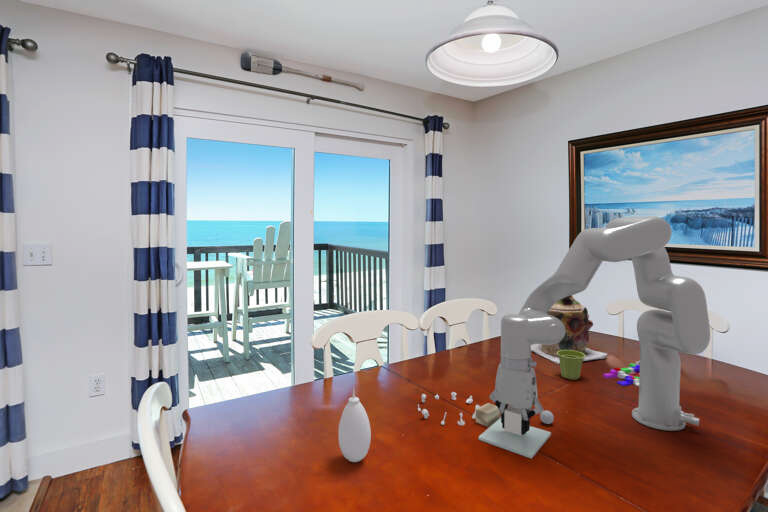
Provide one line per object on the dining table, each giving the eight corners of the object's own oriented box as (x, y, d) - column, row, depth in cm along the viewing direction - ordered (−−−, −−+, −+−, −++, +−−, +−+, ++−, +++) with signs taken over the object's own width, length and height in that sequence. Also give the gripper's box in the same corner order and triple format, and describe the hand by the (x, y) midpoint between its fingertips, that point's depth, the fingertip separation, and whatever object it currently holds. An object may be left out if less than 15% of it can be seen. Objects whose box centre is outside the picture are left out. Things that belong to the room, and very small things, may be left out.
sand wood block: (499, 420, 117) (500, 407, 117) (487, 427, 114) (487, 413, 113) (488, 415, 120) (488, 402, 120) (475, 422, 117) (475, 408, 116)
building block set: (640, 395, 134) (640, 382, 133) (593, 374, 154) (593, 362, 153) (698, 386, 140) (698, 374, 140) (645, 367, 160) (646, 355, 160)
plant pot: (589, 381, 145) (590, 357, 144) (562, 381, 145) (563, 358, 144) (577, 372, 154) (578, 349, 153) (552, 372, 154) (552, 350, 154)
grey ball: (555, 422, 115) (555, 410, 115) (551, 427, 113) (551, 415, 112) (542, 419, 118) (542, 407, 117) (538, 423, 115) (538, 411, 115)
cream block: (527, 428, 108) (527, 408, 108) (521, 435, 105) (521, 415, 104) (511, 423, 111) (511, 404, 111) (504, 430, 108) (504, 410, 107)
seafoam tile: (550, 435, 109) (550, 432, 109) (531, 458, 98) (531, 455, 98) (501, 419, 118) (501, 417, 118) (478, 439, 107) (478, 436, 107)
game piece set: (431, 432, 112) (431, 418, 112) (407, 402, 131) (407, 390, 131) (494, 421, 117) (494, 408, 117) (462, 394, 136) (462, 383, 136)
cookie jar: (522, 348, 184) (522, 278, 182) (566, 343, 192) (567, 275, 189) (561, 366, 161) (562, 286, 159) (610, 359, 168) (611, 282, 166)
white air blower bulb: (371, 450, 103) (369, 381, 101) (371, 469, 95) (369, 394, 93) (340, 451, 102) (338, 382, 101) (337, 470, 95) (335, 395, 93)
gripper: (553, 365, 104) (552, 434, 105) (491, 352, 115) (491, 415, 116) (543, 373, 98) (542, 446, 99) (479, 359, 109) (479, 425, 110)
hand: (515, 428), depth 108 cm, fingers closed on cream block, 4 cm apart
